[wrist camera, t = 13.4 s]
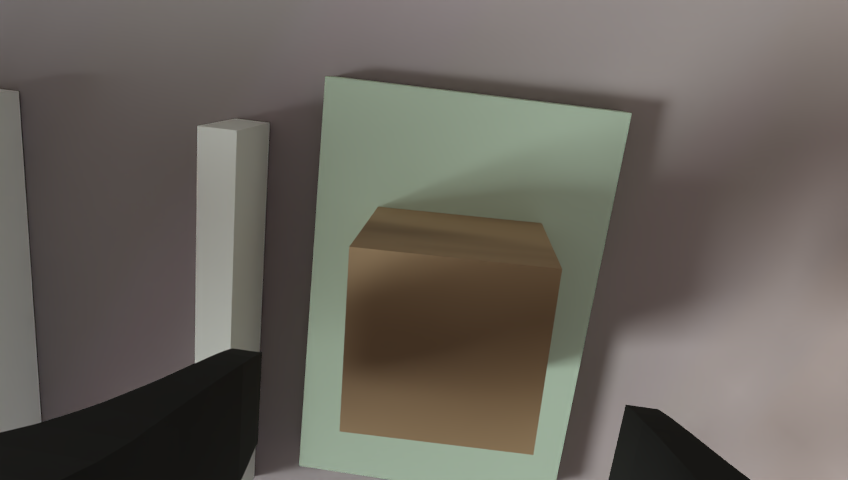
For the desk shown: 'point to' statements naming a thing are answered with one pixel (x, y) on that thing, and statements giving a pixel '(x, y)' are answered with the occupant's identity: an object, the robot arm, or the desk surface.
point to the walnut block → (448, 329)
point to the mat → (462, 195)
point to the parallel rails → (215, 254)
